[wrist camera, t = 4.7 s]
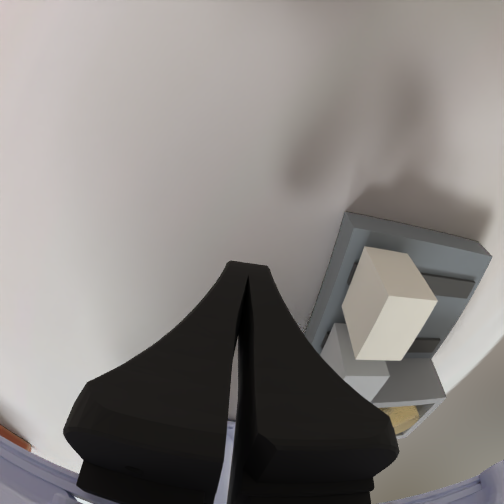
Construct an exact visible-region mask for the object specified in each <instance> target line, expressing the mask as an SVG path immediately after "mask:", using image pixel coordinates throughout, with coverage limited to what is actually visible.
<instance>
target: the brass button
mask: <svg viewBox="0 0 504 504" xmlns="http://www.w3.org/2000/svg"><path fill="white" fill-rule="evenodd" d="M379 409H380V410H382V411H383V412H384V413H386V414H387V415H389V416H390V419H391V422H392V425H393V428H394V430H395V434H399V433H401V432H403V431H405V430H407V429H409V428H410V427H412V426H413V425H414V424H415V423H416V422H417V421H418V419H419V413H418V410H417V407H416V405H413V406H401V407H385V408H379Z"/></svg>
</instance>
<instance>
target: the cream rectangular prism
mask: <svg viewBox="0 0 504 504" xmlns="http://www.w3.org/2000/svg"><path fill="white" fill-rule="evenodd" d="M437 302H438V300H437V299H436V297H435V295H434V294H433V292H432V290H431V289H430V287H429V286H428V284H427V282H426V281H425V279H424V278H423V276H422V275H421V273H420V272H419V270H418V268H417V267H416V265H415V264H414V262H413V261H412V259H411V258H410V257H409V255H408V254H407V253H401V252H396V251H390V250H384V249H378V248H373V247H367V246H364V249H363V252H362V254H361V257H360V260H359V263H358V265H357V268H356V271H355V273H354V276H353V278H352V281H351V284H350V286H349V289H348V291H347V294H346V296H345V299H344V301H343V304H342V310H343V313H344V317H345V321H346V325H347V328H348V332H349V336H350V340H351V344H352V348H353V352H354V356H355V360H390V361H401V360H402V358H403V357H404V355H405V354H406V352H407V351H408V349H409V348H410V346H411V345H412V343H413V342H414V340H415V339H416V337H417V335H418V334H419V332H420V331H421V329H422V327H423V326H424V324H425V322H426V321H427V319H428V317H429V316H430V314H431V312H432V310H433V309H434V307H435V305H436V303H437Z"/></svg>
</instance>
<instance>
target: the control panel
mask: <svg viewBox="0 0 504 504" xmlns="http://www.w3.org/2000/svg"><path fill="white" fill-rule="evenodd" d="M0 436H2V437H4V438H5V439H7V440H9V441H11V442H12V443H14V444H16V445H18V446H20V447H22V448H23V449H25V450H27V451H29V452H31V445H30V444H29V443H28V442H26V441H24V440H23V439H21V438H20V437H18V436H17V435H15V434H14V433H12V432H11V431H9V430H8V429H6V428H5V427H3V426H2V425H0Z"/></svg>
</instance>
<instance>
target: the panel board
mask: <svg viewBox="0 0 504 504" xmlns="http://www.w3.org/2000/svg"><path fill="white" fill-rule="evenodd" d="M364 246H367V247H373V248H378V249H384V250H390V251H396V252H401V253H407V254H408V255H409V257H410V258H411V259H412V261H413V262H414V264H415V265H416V267H417V268H418V270H419V272H420V273H421V275H422V276H423V278H424V279H425V281H426V282H427V284H428V286H429V287H430V289H431V290H432V292H433V294H434V295H435V297H436V299H437V300H438V302H437V303H436V305H435V307H434V309H433V310H432V312H431V314H430V316H429V317H428V319H427V321H426V322H425V324H424V326H423V327H422V329H421V331H420V332H419V334H418V335H417V337H416V339H415V340H414V342H413V343H412V345H411V346H410V348H409V349H408V351H407V352H406V354H405V355H404V357H403V358H402V360H401V361H390V360H385V362H386V365H387V368H388V371H389V375H390V377H389V378H388V380H387V381H386V382H385V384H384V385H383V386H382V388H381V389H380V390H379V392H378V393H377V394H376V396H375V397H374V398H373V399H372V401H371V403H372V404H373V405H375V406H376V407H377V408H385V407H401V406H413V405H416V407H417V410H418V413H419V419H418V421H417V422H416V423H415V424H414V425H413V426H412V427H410V428H409V429H407V430H405V431H403V432H401V433H399V434H396V438H397V439H400V438H406V437H407V436H408V435H409V434H410V433H411V432H412V431H413V430H414V429H415V428H416V427H418V426H419V425H420V424H421V423H422V422H423V421H424V420H425V419H426V418H427V417H428V416H429V415H430V414H431V413H432V412H433V411H434V410H435V409H436V408H437V407H438V406H439V405H440V404H441V403H442V402H443V401H444V400H445V398H446V394H445V392H444V389H443V387H442V384H441V382H440V379H439V377H438V374H437V372H436V369H435V367H434V365H433V362H432V360H431V358H432V357H433V356H434V354H435V353H436V352H437V350H438V349H439V347H440V346H441V344H442V343H443V341H444V340H445V339H446V337H447V336H448V334H449V333H450V331H451V329H452V328H453V326H454V325H455V323H456V322H457V320H458V319H459V317H460V315H461V314H462V312H463V310H464V309H465V307H466V305H467V304H468V302H469V300H470V298H471V297H472V295H473V293H474V291H475V290H476V288H477V286H478V284H479V282H480V280H481V279H482V277H483V275H484V273H485V271H486V269H487V267H488V265H489V263H490V261H491V259H492V256H491V255H490V253H489V252H488V251H487V250H486V249H485V248H484V247H483V246H482V245H481V244H480V243H479V242H477V241H474V240H470V239H466V238H462V237H458V236H454V235H450V234H446V233H442V232H438V231H433V230H429V229H425V228H420V227H416V226H412V225H407V224H403V223H398V222H393V221H389V220H384V219H379V218H374V217H370V216H365V215H360V214H355V213H349V212H345V214H344V217H343V221H342V224H341V228H340V231H339V234H338V237H337V241H336V244H335V247H334V250H333V254H332V257H331V260H330V263H329V266H328V269H327V272H326V275H325V278H324V281H323V284H322V287H321V290H320V293H319V296H318V299H317V302H316V304H315V307H314V310H313V313H312V316H311V318H310V321H309V324H308V327H307V329H306V332H305V337H306V338H307V340H308V341H309V342H310V343H311V345H312V346H313V347H314V349H315V350H316V351H317V352H318V354H319V355H320V354H321V352H322V350H323V348H324V345H325V343H326V341H327V339H328V337H329V334H330V332H331V330H332V327H333V325H334V323H343V324H346V321H345V317H344V313H343V310H342V304H343V301H344V299H345V296H346V294H347V291H348V289H349V286H350V284H351V281H352V278H353V276H354V273H355V271H356V268H357V265H358V263H359V260H360V257H361V254H362V252H363V249H364Z"/></svg>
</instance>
